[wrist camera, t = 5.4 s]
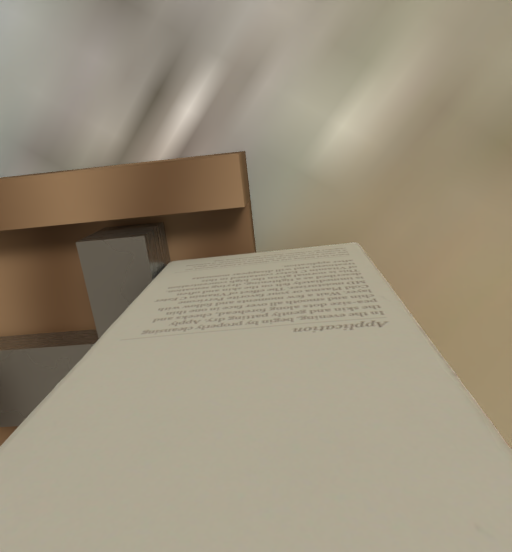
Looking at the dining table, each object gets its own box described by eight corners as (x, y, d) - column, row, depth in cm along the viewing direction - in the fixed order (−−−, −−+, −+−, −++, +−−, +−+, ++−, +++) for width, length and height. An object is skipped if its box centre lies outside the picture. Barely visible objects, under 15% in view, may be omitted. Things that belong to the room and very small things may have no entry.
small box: (373, 447, 16) (694, 1560, 3) (205, 457, 16) (-32, 1431, 4) (362, 234, 13) (1310, 1409, 1) (166, 255, 14) (-720, 1149, 2)
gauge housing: (245, 151, 14) (193, 170, 6) (289, 558, 20) (295, 872, 11) (-192, 198, 16) (-744, 269, 7) (-38, 567, 21) (-249, 852, 13)
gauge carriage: (163, 221, 14) (144, 235, 12) (224, 575, 19) (217, 627, 17) (-51, 242, 15) (-104, 258, 13) (60, 578, 19) (34, 630, 17)
